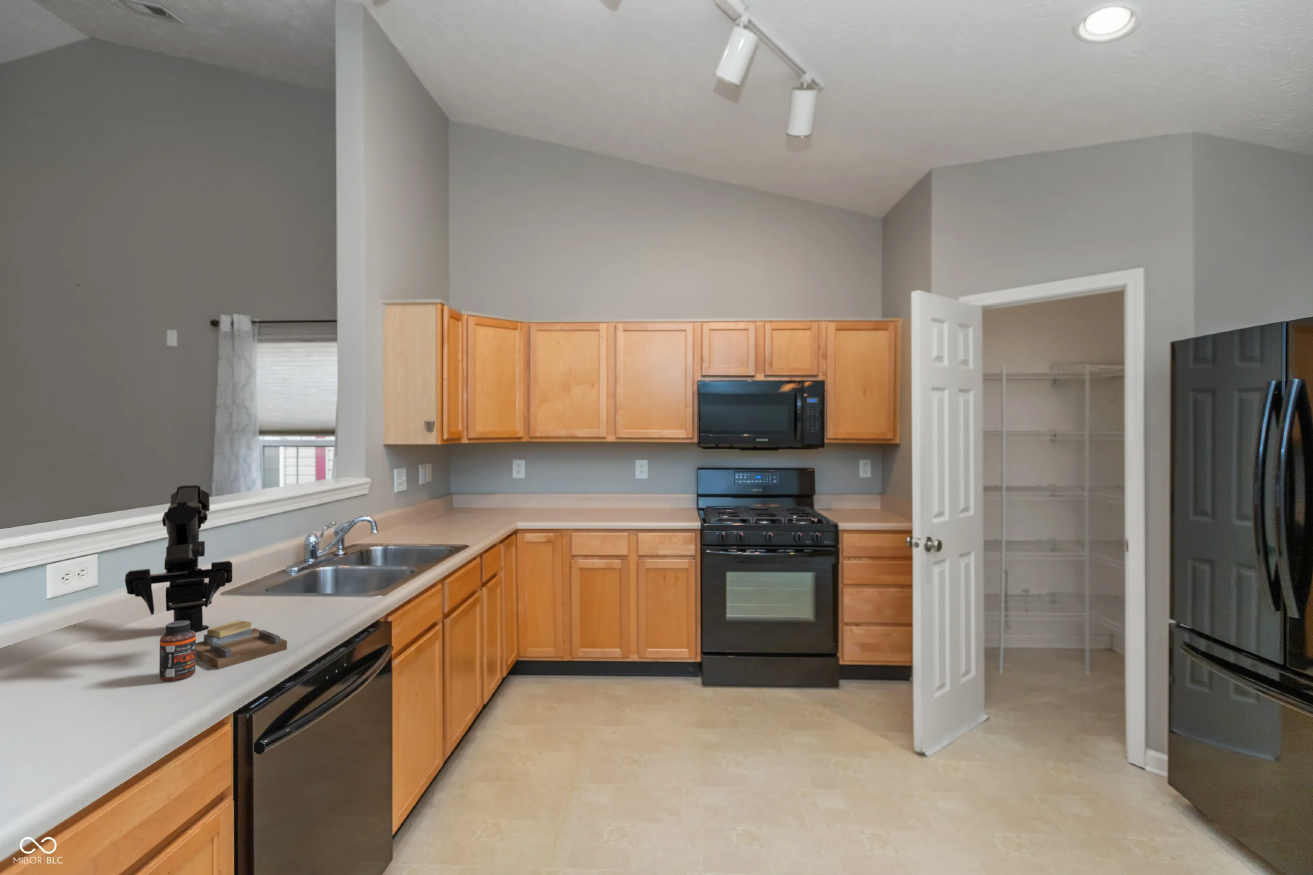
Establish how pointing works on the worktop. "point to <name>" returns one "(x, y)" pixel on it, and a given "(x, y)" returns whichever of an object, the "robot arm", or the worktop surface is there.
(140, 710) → the worktop surface
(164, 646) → the supplement bottle
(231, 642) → the shelf board
